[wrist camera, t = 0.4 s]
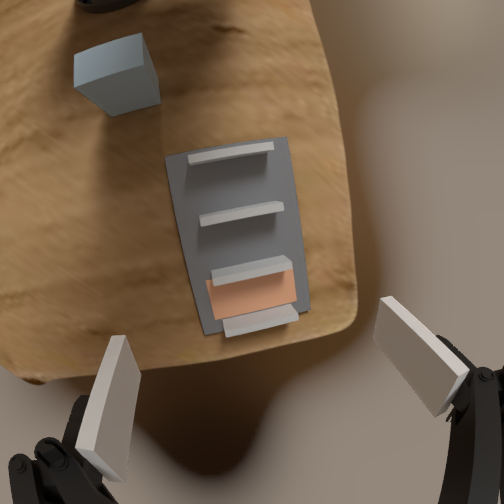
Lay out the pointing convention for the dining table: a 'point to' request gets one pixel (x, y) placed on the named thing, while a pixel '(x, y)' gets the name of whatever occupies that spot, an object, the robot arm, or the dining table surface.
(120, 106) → the tall grey pillar
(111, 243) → the dining table surface
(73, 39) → the dining table surface
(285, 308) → the rack
